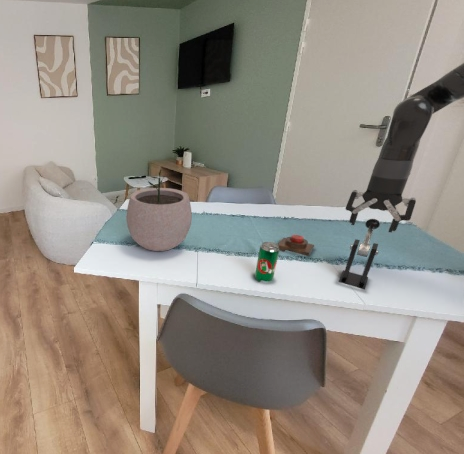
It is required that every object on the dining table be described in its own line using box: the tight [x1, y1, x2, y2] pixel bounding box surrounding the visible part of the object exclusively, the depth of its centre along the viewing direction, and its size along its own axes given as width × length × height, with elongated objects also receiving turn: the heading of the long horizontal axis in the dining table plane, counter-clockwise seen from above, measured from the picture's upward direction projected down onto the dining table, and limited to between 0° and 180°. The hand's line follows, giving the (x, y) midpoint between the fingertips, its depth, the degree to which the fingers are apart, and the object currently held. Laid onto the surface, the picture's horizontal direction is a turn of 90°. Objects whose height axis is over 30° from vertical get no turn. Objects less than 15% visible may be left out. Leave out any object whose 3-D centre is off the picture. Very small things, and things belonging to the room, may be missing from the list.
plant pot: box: [126, 169, 193, 252], centre depth 108 cm, size 24×24×30 cm
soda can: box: [254, 241, 280, 282], centre depth 88 cm, size 5×5×12 cm
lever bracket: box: [338, 239, 379, 290], centre depth 84 cm, size 8×6×13 cm
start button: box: [290, 234, 305, 243], centre depth 104 cm, size 4×4×2 cm
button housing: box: [276, 235, 315, 257], centre depth 105 cm, size 10×8×4 cm
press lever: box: [356, 218, 381, 258], centre depth 84 cm, size 14×3×3 cm, turn 135°
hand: (370, 227), depth 87 cm, fingers open, 8 cm apart
